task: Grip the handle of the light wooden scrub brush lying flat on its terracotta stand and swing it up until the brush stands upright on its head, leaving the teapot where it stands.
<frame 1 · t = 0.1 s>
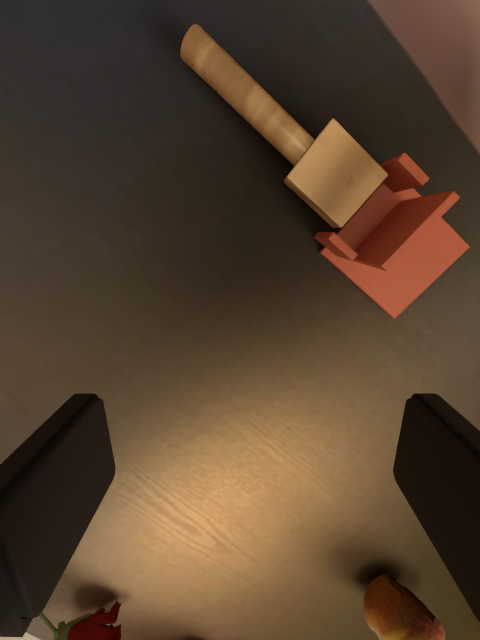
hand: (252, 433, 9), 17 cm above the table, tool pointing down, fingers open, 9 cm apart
brush stand: (353, 213, 23), on the table
flower: (27, 550, 36), on the table
fruit: (385, 578, 36), on the table
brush: (278, 128, 20), point 2 cm above the table, hinge at 0.0°
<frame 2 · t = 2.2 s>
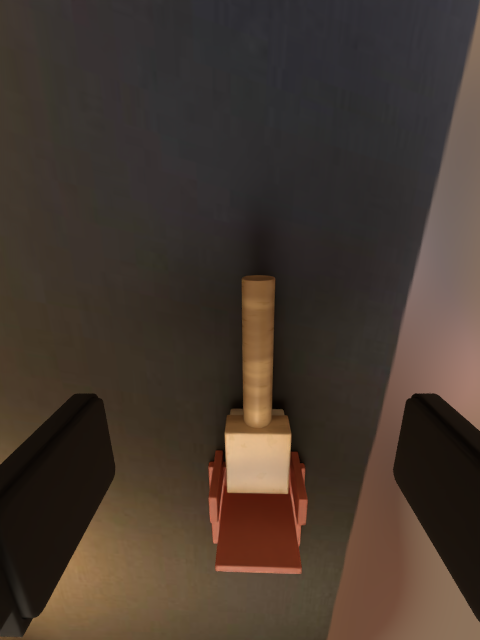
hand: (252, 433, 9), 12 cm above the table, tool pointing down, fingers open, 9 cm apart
brush stand: (256, 462, 24), on the table
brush: (257, 389, 19), point 2 cm above the table, hinge at 0.0°
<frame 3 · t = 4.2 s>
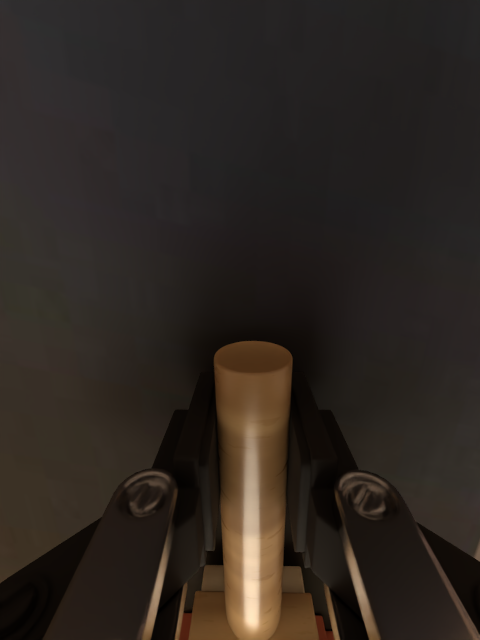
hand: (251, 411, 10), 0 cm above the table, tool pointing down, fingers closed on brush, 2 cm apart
brush stand: (252, 628, 14), on the table
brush: (253, 561, 10), point 2 cm above the table, hinge at 0.0°, touching gripper
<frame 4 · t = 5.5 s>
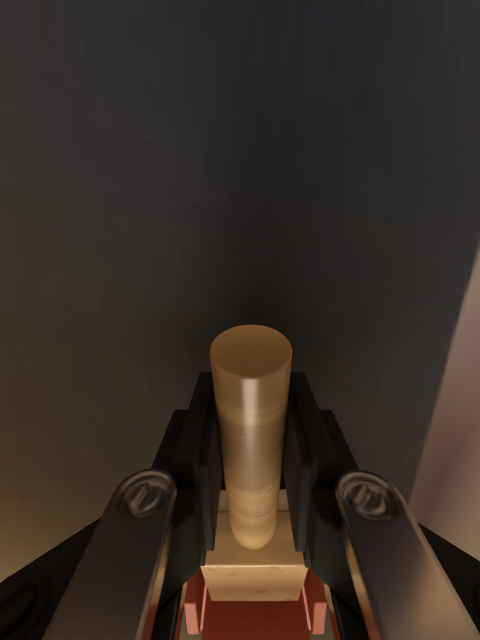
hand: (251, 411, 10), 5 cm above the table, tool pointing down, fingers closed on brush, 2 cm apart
brush stand: (252, 528, 18), on the table
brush: (252, 496, 11), point 5 cm above the table, hinge at 16.8°, touching gripper
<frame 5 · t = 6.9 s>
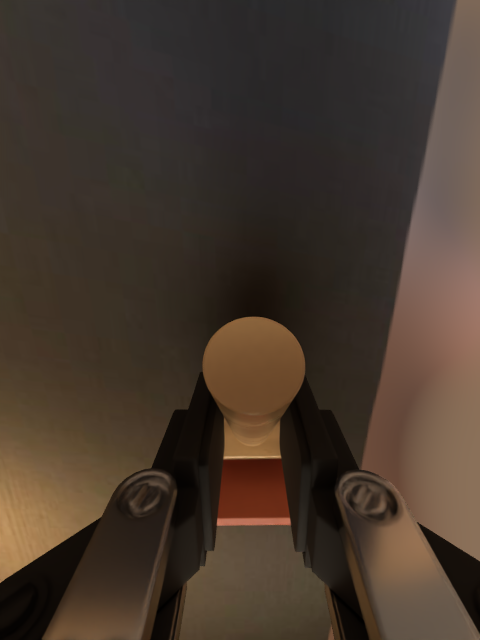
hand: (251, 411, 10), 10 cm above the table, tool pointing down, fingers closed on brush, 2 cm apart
brush stand: (250, 415, 22), on the table
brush: (251, 418, 12), point 8 cm above the table, hinge at 45.7°, touching gripper
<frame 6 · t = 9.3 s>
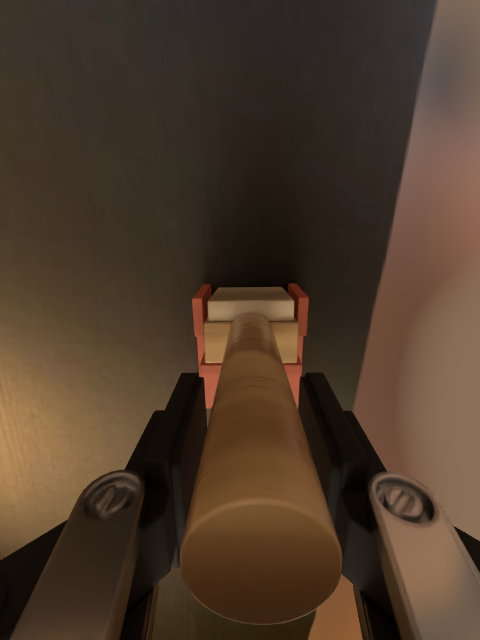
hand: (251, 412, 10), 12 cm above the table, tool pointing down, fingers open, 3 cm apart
brush stand: (249, 299, 21), on the table
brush: (251, 351, 11), point 11 cm above the table, hinge at 86.0°
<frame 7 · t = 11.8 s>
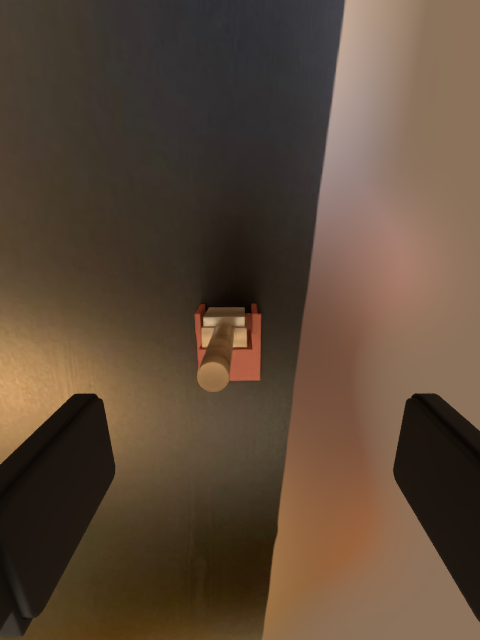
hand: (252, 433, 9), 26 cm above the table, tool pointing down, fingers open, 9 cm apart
brush stand: (228, 313, 35), on the table
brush: (222, 340, 25), point 11 cm above the table, hinge at 86.0°
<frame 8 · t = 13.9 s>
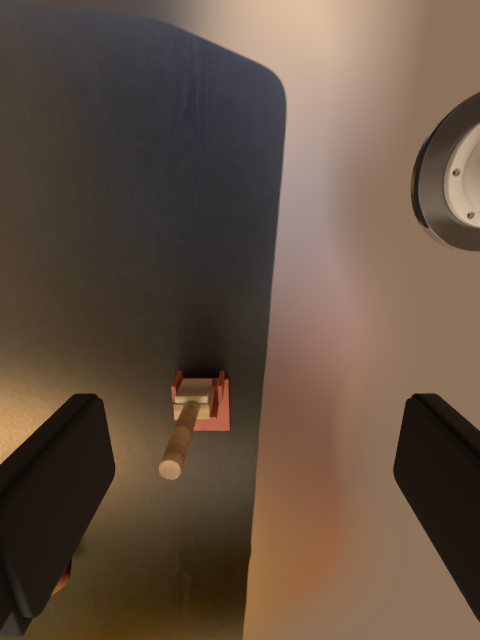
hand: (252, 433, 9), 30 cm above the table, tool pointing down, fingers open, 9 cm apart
brush stand: (201, 377, 42), on the table
fruit: (65, 541, 54), on the table
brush: (187, 419, 32), point 11 cm above the table, hinge at 86.0°
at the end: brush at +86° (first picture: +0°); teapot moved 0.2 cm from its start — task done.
